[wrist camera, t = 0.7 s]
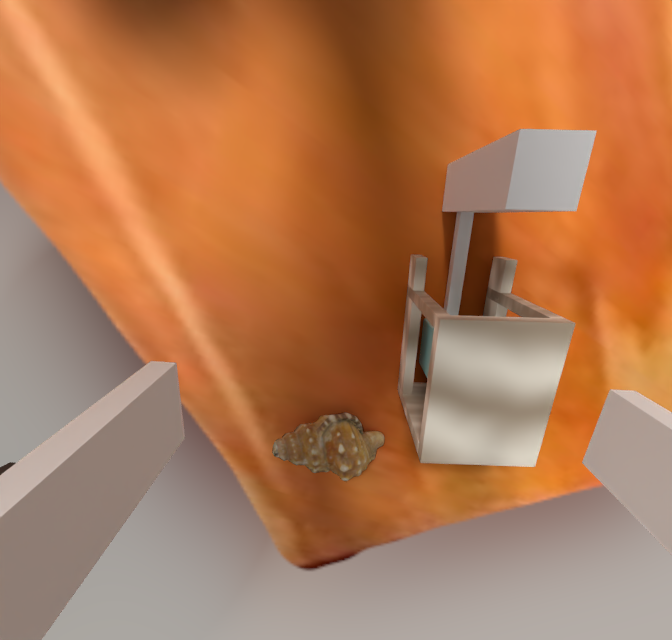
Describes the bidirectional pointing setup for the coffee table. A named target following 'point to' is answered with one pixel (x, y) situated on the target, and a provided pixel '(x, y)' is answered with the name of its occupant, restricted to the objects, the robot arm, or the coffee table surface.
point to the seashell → (330, 445)
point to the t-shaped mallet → (508, 192)
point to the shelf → (481, 374)
